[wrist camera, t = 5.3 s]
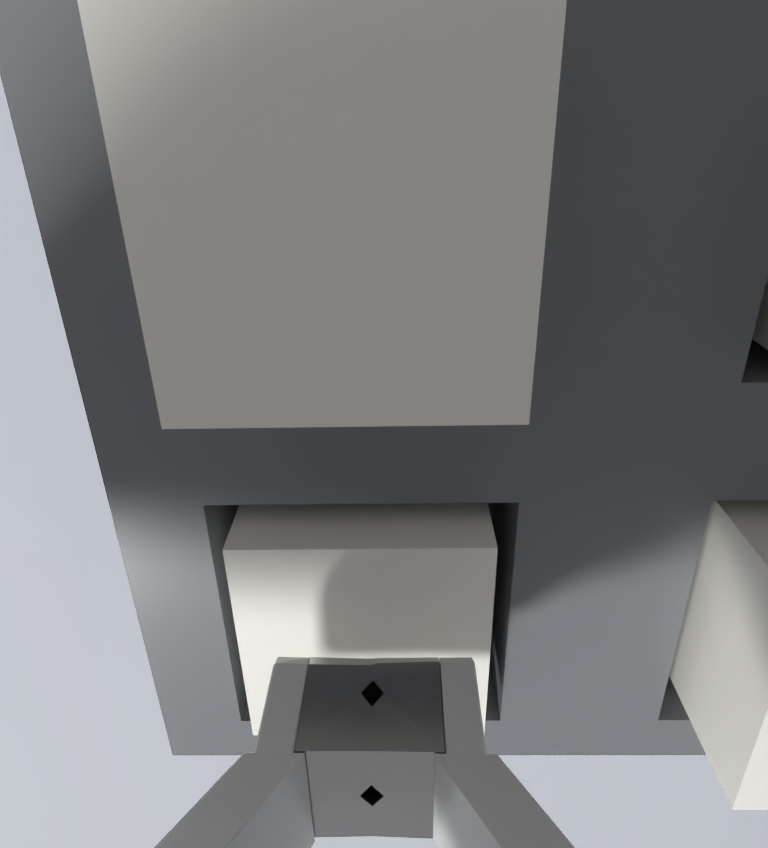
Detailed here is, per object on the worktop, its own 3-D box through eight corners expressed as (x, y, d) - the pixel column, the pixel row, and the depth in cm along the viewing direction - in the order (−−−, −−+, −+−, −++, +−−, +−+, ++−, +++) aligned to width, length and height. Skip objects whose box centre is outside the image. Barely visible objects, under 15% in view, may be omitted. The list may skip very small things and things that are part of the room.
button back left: (476, 451, 13) (498, 548, 10) (467, 616, 14) (484, 734, 12) (258, 453, 13) (222, 550, 10) (279, 617, 15) (253, 735, 12)
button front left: (511, 17, 8) (567, -19, 6) (493, 335, 10) (528, 424, 7) (178, 25, 8) (76, -5, 6) (222, 339, 10) (162, 429, 8)
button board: (1136, -89, 10) (1547, -187, 6) (856, 609, 16) (985, 755, 13) (101, -58, 10) (-53, -135, 7) (220, 613, 17) (172, 755, 13)
